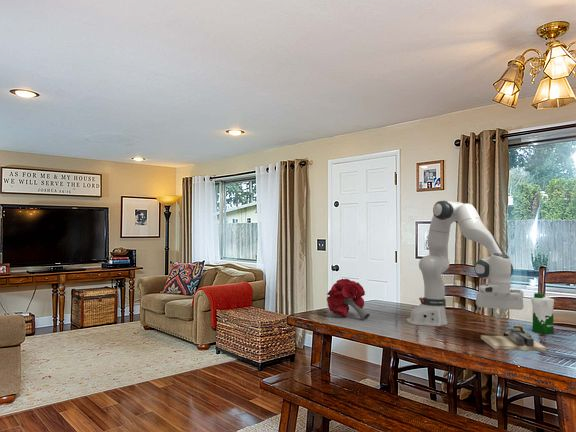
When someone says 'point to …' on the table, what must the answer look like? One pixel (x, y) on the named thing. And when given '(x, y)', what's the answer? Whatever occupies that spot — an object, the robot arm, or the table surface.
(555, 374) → the table surface
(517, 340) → the tongs arm
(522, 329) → the burger
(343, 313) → the bouquet
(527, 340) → the tongs fixed
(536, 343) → the board
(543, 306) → the milk carton
